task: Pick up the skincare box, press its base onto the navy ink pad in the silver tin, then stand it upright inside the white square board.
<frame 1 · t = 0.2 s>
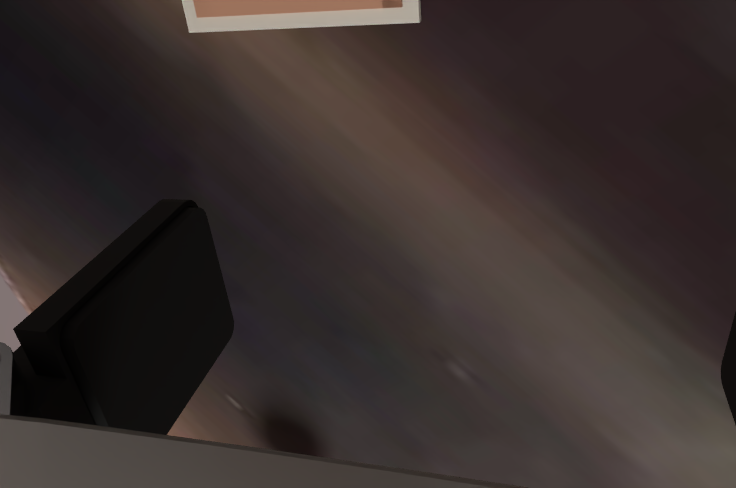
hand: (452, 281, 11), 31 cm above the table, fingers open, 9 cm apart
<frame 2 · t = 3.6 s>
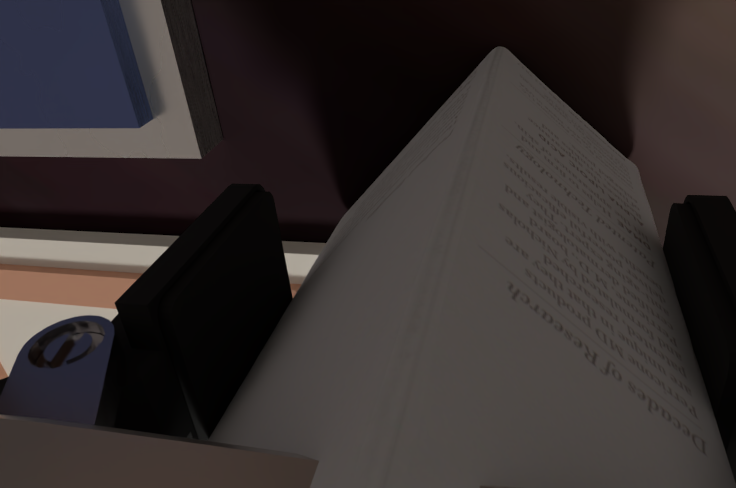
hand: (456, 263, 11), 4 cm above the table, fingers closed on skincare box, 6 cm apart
skincare box: (477, 179, 15), on the table, touching gripper
white square board: (166, 417, 23), on the table
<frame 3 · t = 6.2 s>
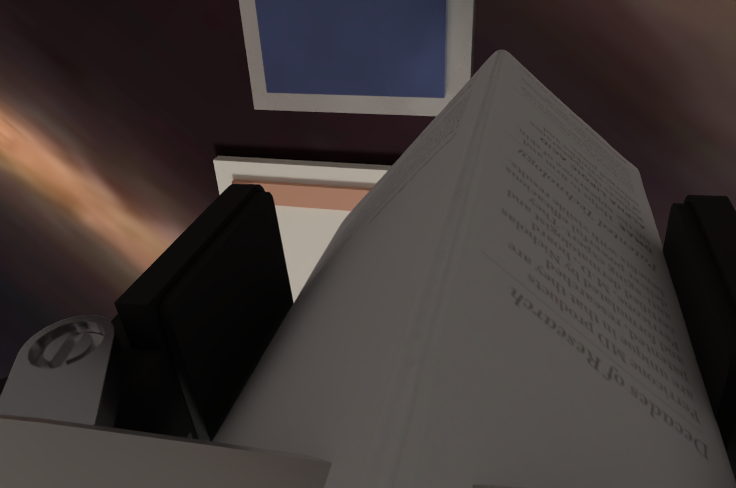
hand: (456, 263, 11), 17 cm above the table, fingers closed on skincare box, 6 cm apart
skincare box: (479, 181, 15), point 13 cm above the table, touching gripper
white square board: (372, 296, 34), on the table
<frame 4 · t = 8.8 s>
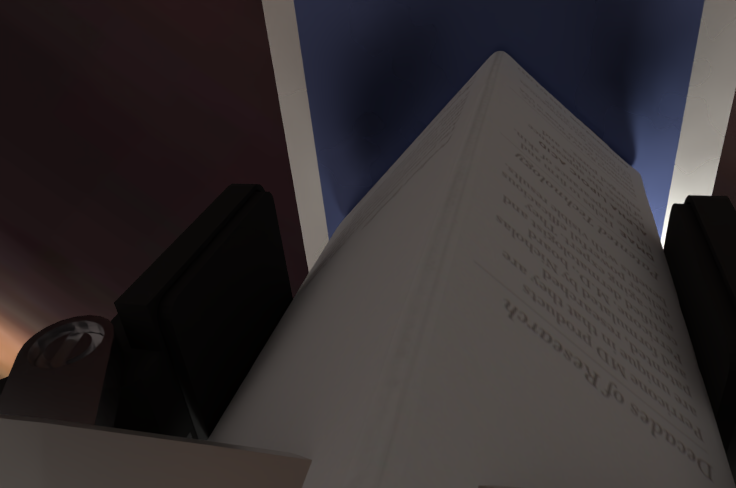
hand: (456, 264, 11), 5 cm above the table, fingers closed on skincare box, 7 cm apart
skincare box: (477, 185, 14), point 2 cm above the table, touching gripper, ink pad
ink pad: (488, 138, 15), on the table
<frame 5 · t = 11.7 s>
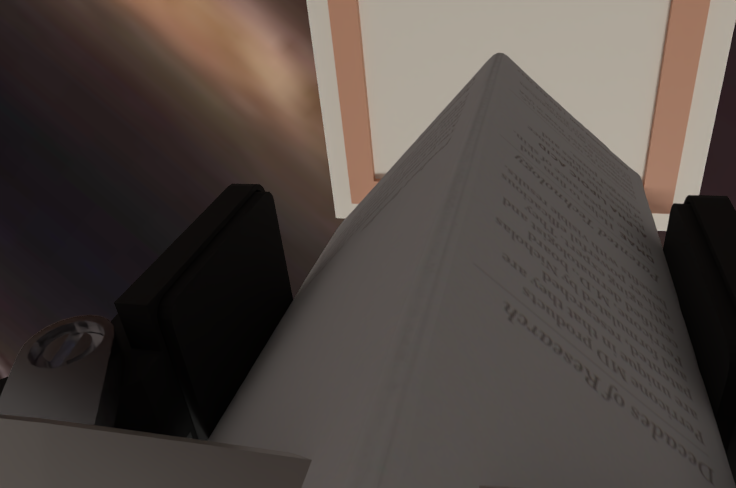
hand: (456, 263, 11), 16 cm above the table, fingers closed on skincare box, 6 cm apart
skincare box: (477, 187, 14), point 12 cm above the table, touching gripper
white square board: (505, 44, 24), on the table
when the fingers open (6 cm above the table, at t = 14.0 s): skincare box drops 1 cm, resting on white square board.
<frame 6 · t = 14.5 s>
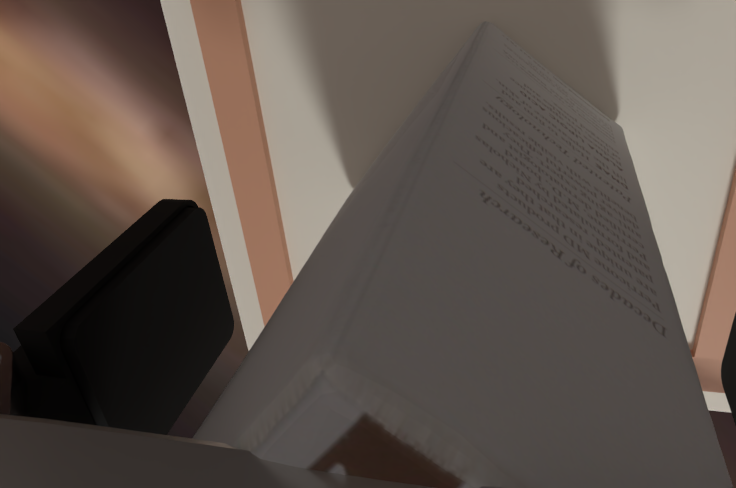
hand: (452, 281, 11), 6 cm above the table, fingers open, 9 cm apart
skincare box: (474, 150, 16), resting on white square board
white square board: (483, 144, 16), on the table
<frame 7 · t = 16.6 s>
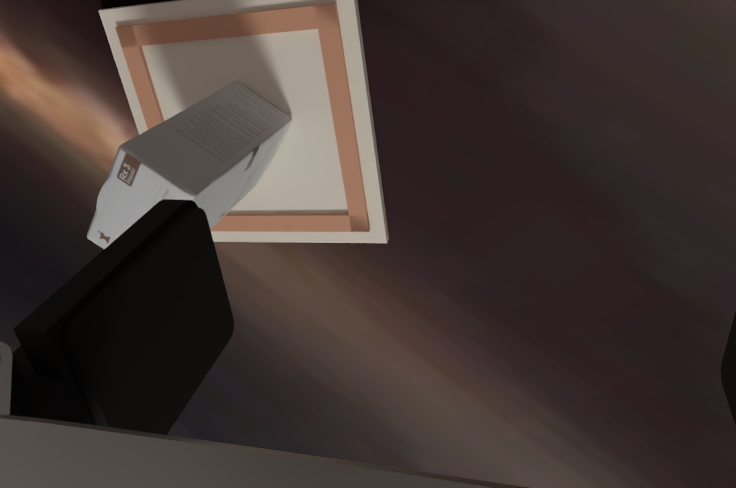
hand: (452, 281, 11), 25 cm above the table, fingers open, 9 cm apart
skincare box: (247, 131, 38), resting on white square board
white square board: (252, 128, 39), on the table
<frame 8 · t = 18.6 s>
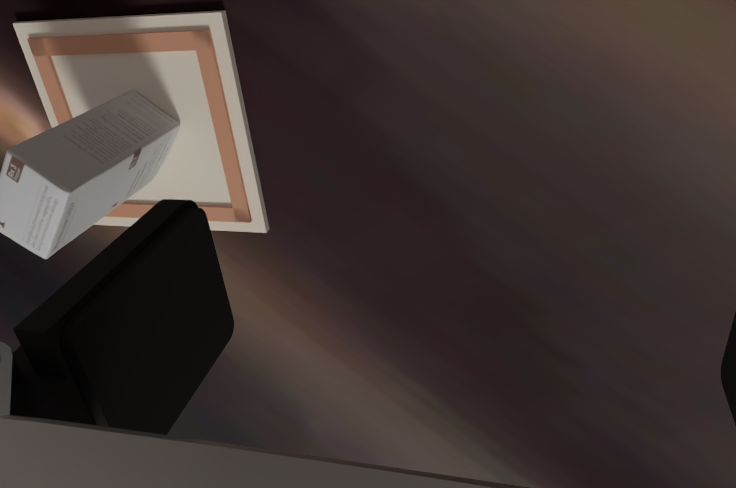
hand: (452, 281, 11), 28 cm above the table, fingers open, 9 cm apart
skincare box: (144, 132, 44), resting on white square board
white square board: (149, 130, 45), on the table
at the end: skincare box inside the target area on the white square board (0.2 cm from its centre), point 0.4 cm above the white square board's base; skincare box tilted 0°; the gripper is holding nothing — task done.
